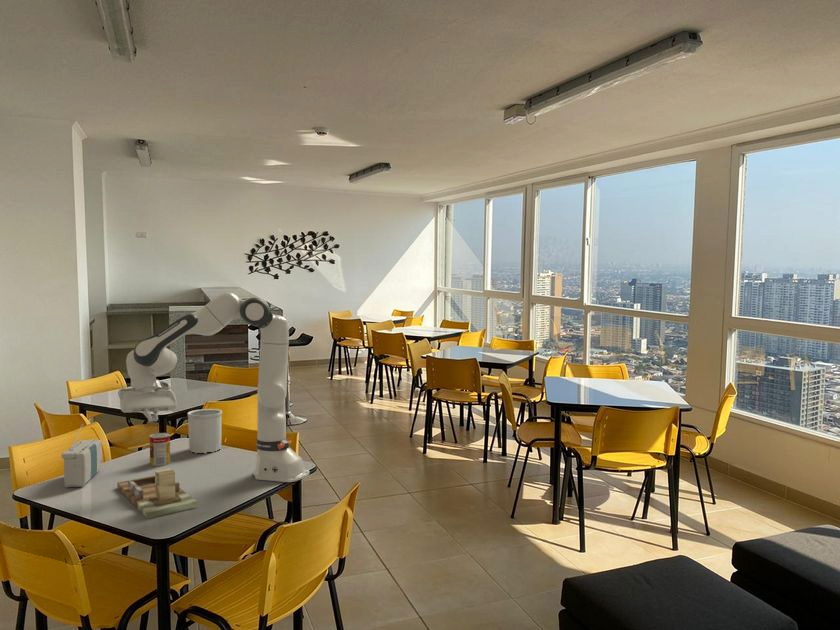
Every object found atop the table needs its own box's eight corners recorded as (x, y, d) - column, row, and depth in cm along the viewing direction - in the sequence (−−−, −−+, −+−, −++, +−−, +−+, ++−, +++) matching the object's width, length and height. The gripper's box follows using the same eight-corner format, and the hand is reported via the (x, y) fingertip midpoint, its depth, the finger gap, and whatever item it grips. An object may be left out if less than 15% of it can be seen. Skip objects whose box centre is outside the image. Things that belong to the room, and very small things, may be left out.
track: (117, 487, 223) (117, 474, 223) (162, 479, 234) (162, 466, 234) (147, 518, 195) (147, 503, 195) (197, 507, 206) (196, 492, 205)
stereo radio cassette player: (85, 488, 223) (84, 434, 222) (60, 489, 221) (59, 435, 220) (103, 470, 243) (102, 421, 242) (81, 471, 242) (80, 422, 241)
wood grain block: (149, 498, 207) (149, 470, 206) (173, 493, 212) (173, 466, 211) (156, 505, 201) (156, 476, 200) (181, 500, 206) (181, 472, 205)
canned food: (168, 459, 259) (167, 432, 259) (171, 464, 253) (171, 436, 252) (148, 462, 255) (148, 434, 254) (151, 467, 249) (151, 438, 248)
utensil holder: (184, 448, 277) (183, 410, 276) (216, 443, 285) (216, 407, 284) (192, 456, 265) (192, 416, 264) (226, 451, 273) (226, 412, 272)
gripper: (120, 384, 217) (128, 417, 211) (174, 383, 233) (183, 415, 227) (113, 393, 220) (121, 426, 214) (166, 392, 236) (175, 423, 230)
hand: (153, 420), depth 221 cm, fingers closed
